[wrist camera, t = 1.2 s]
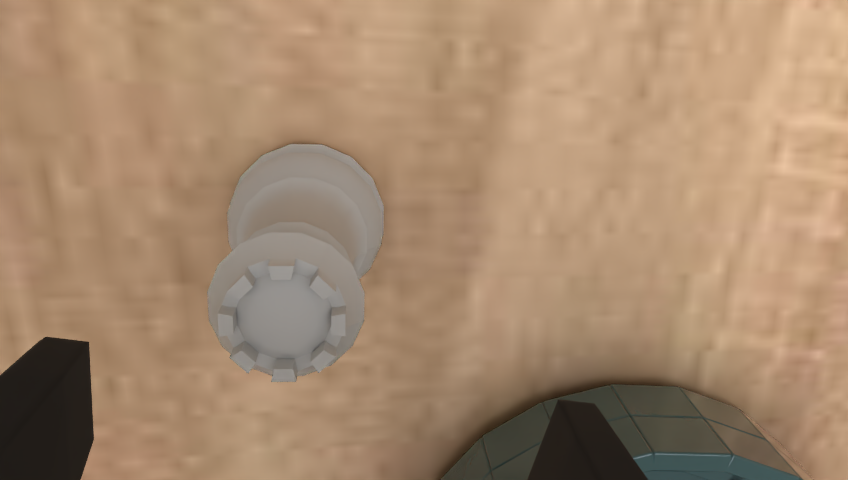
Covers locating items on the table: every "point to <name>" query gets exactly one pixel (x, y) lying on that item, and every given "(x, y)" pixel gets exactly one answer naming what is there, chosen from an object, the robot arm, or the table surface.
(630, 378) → the table surface
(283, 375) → the rook chess piece
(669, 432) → the teal bowl
